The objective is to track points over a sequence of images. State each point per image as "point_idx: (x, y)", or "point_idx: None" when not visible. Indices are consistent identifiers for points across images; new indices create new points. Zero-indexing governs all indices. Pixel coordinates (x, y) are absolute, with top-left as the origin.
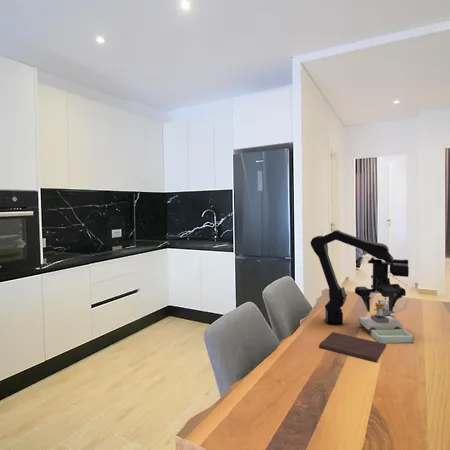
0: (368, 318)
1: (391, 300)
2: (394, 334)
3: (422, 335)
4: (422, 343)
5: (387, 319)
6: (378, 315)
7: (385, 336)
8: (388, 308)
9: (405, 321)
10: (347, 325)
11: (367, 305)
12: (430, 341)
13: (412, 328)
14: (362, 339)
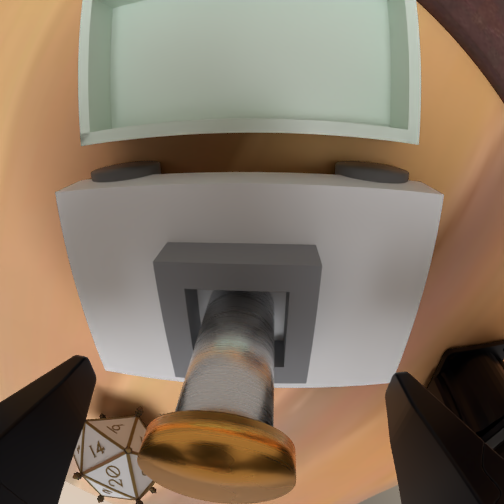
0: (329, 355)
1: (12, 476)
2: (179, 120)
3: (7, 148)
4: (62, 11)
5: (171, 259)
6: (264, 332)
7: (289, 79)
8: (99, 445)
9: (47, 351)
10: (429, 341)
11: (477, 435)
12: (10, 58)
13: (26, 260)
14: (501, 57)
